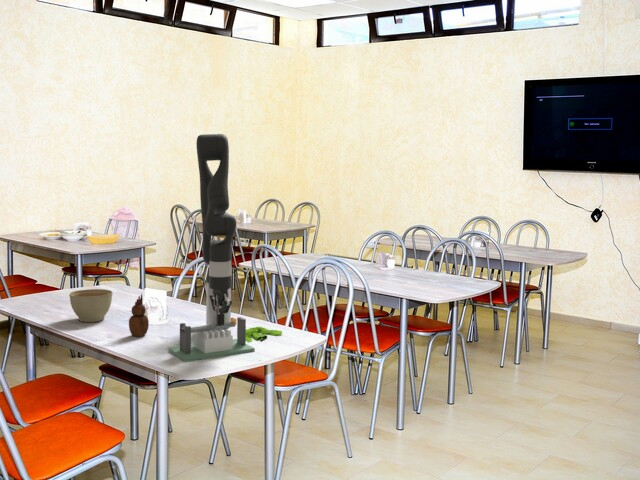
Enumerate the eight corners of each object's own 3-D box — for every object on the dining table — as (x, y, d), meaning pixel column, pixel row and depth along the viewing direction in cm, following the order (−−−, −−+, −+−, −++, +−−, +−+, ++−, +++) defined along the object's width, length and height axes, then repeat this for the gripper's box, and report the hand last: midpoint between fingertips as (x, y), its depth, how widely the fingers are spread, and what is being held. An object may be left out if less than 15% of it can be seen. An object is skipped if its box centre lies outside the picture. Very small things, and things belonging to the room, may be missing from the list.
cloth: (257, 327, 274) (257, 321, 273) (302, 337, 261) (302, 330, 261) (220, 337, 257) (220, 331, 257) (267, 348, 244) (267, 341, 244)
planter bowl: (117, 315, 285) (117, 288, 284) (106, 325, 269) (106, 297, 268) (77, 314, 285) (76, 288, 284) (63, 324, 269) (63, 296, 268)
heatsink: (168, 350, 236) (168, 321, 235) (236, 341, 250) (236, 313, 249) (184, 361, 225) (184, 330, 223) (254, 351, 238) (255, 322, 237)
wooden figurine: (142, 332, 259) (142, 292, 258) (151, 335, 255) (151, 294, 254) (126, 335, 255) (125, 294, 253) (134, 338, 251) (134, 297, 249)
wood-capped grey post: (184, 334, 229) (184, 326, 229) (180, 331, 232) (180, 324, 232) (236, 326, 240) (236, 319, 239) (232, 324, 242) (232, 317, 242)
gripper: (239, 276, 232) (239, 327, 234) (222, 270, 243) (222, 319, 245) (218, 278, 228) (218, 330, 230) (201, 272, 239) (202, 322, 241)
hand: (220, 324), depth 238 cm, fingers closed
